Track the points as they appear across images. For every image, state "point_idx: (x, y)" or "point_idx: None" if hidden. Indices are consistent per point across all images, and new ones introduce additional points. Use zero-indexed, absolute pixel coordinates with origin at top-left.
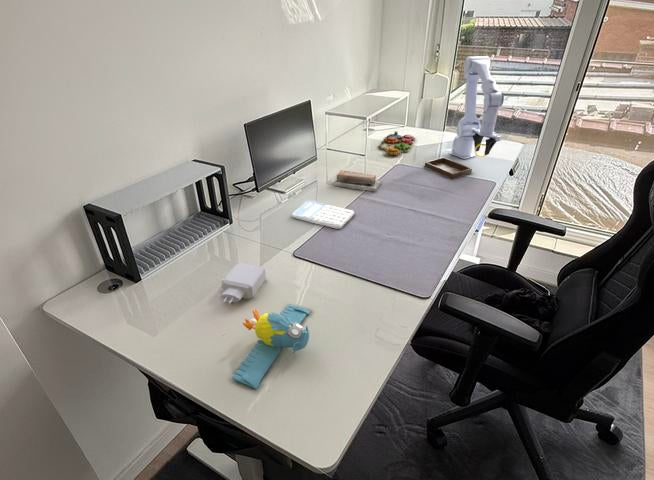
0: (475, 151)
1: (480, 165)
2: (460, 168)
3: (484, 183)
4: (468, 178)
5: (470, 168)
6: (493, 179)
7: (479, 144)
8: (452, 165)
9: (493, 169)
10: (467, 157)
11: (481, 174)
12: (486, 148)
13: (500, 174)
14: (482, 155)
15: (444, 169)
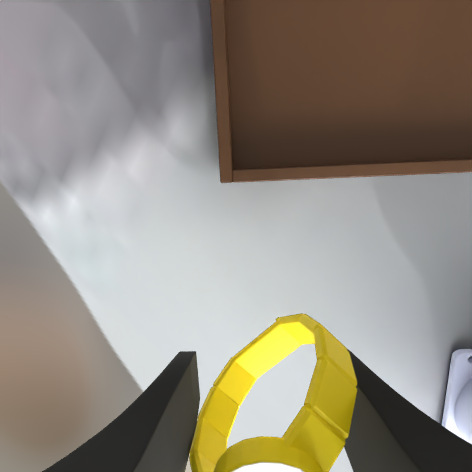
0: (311, 322)
1: (298, 356)
2: (330, 163)
3: (24, 114)
4: (154, 75)
5: (226, 168)
6: (60, 235)
7: (312, 429)
8: (423, 159)
9: (198, 371)
10: (452, 383)
11: (169, 233)
12: (146, 404)
13: (110, 342)
14: (249, 362)
15: (407, 16)
